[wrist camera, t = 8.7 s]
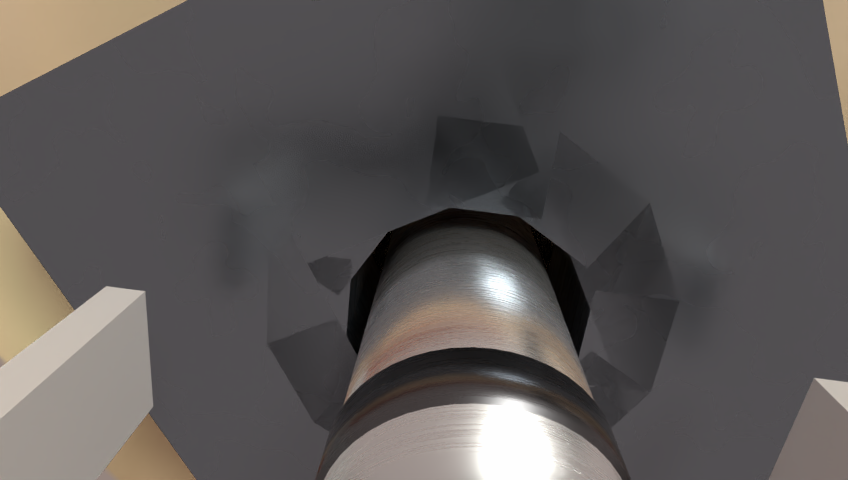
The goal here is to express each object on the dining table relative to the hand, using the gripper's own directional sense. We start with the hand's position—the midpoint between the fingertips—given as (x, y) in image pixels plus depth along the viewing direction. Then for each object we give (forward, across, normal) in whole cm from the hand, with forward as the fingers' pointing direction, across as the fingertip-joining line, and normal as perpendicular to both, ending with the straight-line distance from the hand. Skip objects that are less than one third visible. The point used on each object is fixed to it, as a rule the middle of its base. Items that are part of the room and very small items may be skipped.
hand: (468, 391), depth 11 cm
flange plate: (+8, 0, 0) cm, 8 cm away
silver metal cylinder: (+8, 0, 0) cm, 8 cm away
